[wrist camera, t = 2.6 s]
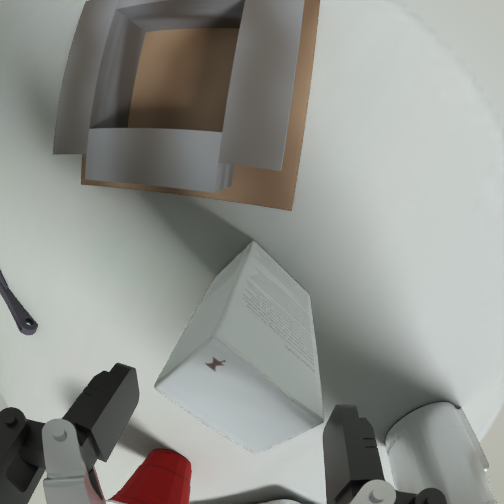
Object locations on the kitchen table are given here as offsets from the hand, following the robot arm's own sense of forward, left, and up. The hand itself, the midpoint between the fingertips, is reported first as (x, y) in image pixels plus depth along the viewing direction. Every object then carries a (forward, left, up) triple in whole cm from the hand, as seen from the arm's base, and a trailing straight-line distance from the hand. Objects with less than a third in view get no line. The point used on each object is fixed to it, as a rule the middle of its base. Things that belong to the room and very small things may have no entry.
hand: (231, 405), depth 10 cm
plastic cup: (+8, +28, -12) cm, 31 cm away
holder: (+7, -14, -12) cm, 19 cm away
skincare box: (0, 0, -12) cm, 12 cm away
